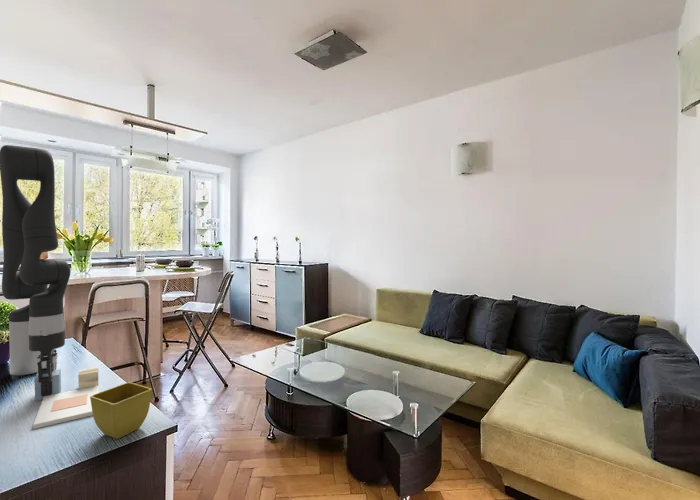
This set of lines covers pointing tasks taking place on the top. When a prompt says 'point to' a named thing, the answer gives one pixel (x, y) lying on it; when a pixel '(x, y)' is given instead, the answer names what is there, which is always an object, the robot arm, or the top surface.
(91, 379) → the maple block
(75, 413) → the board
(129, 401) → the flower pot
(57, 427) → the top surface
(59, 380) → the slate block
